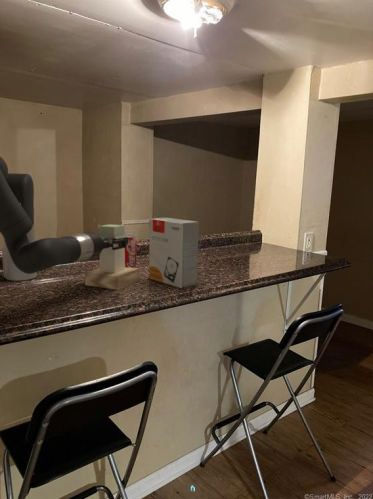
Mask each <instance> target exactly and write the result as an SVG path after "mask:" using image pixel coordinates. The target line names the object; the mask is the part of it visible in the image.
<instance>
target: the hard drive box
mask: <svg viewBox="0 0 373 499" xmlns="http://www.w3.org/2000/svg"><path fill="white" fill-rule="evenodd" d="M148 220H149V221H148V224H149V225H148V226H149V227H148V228H149V232H148V233H149V234H148V235H149V238H148V241H149V242H148V247H149V248H148V254H149V255H148V258H149V259H148V261H149V262H148V273H149V274H148V276H149V277H148V279H149V280H153V281H155V282H160V283H162V284H166V285H169V286H171V285H172V286H171V287H175V288H177V289H178V288H180V289H183V287H184V288H188V287H192V286H196V285H198V271H199V270H198V269H199V267H198V265H199V235H200V234H199V233H200V232H199V230H200V222H199V221H195V220H188V219H180V218H172V217H155V218H153V217H152V218H149V219H148Z"/></svg>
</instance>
